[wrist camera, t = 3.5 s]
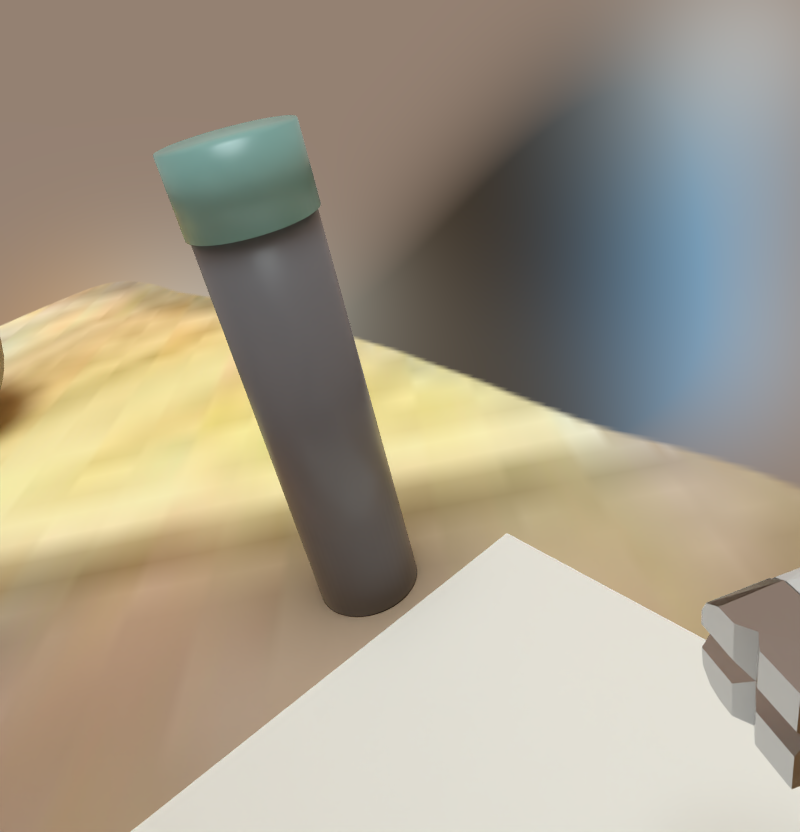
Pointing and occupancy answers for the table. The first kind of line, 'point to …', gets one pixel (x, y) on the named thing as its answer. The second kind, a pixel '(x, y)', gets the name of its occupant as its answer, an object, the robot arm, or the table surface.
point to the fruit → (1, 363)
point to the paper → (502, 725)
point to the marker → (294, 350)
